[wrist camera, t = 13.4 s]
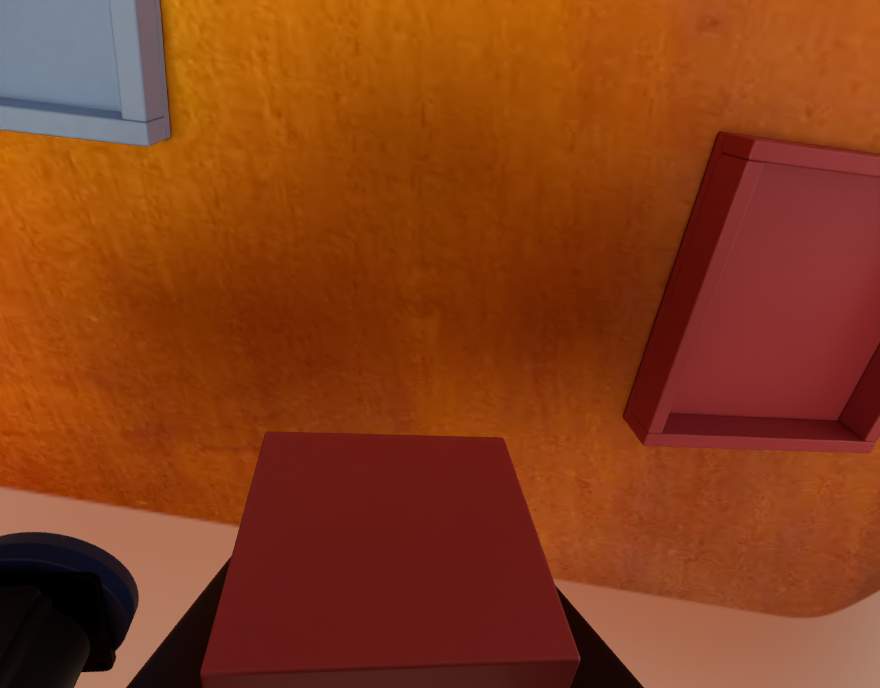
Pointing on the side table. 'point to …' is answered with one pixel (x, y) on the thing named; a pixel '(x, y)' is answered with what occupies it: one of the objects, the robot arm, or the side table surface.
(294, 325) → the side table surface
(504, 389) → the side table surface
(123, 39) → the blue tray
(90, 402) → the side table surface
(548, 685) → the burgundy block
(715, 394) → the burgundy tray
